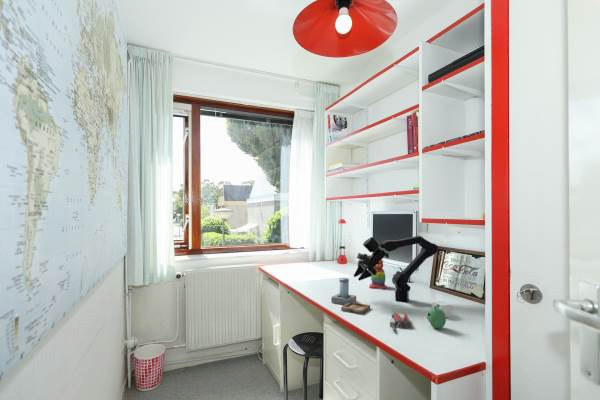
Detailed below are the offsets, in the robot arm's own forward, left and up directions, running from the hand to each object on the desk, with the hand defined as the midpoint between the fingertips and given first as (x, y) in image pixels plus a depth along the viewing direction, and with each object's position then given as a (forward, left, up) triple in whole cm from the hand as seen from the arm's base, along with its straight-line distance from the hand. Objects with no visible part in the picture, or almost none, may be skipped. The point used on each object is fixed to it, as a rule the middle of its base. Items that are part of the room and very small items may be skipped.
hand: (356, 278), depth 178 cm
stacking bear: (+1, -39, -13) cm, 41 cm away
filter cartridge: (+5, +4, -13) cm, 15 cm away
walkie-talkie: (-31, +23, -13) cm, 41 cm away
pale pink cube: (-44, -2, -13) cm, 46 cm away
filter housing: (+5, +4, -13) cm, 15 cm away
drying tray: (-6, +13, -13) cm, 19 cm away
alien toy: (-45, +17, -13) cm, 50 cm away
